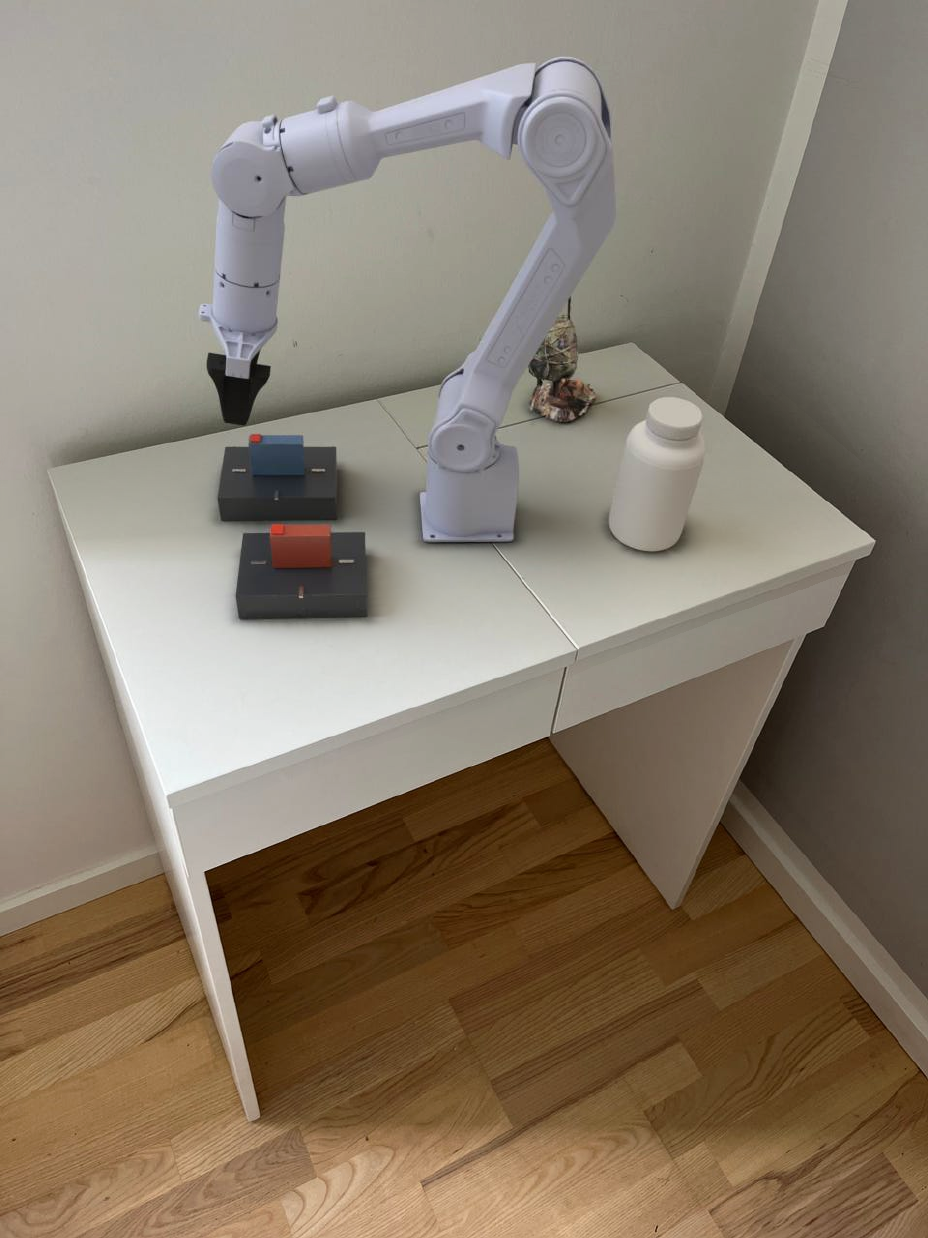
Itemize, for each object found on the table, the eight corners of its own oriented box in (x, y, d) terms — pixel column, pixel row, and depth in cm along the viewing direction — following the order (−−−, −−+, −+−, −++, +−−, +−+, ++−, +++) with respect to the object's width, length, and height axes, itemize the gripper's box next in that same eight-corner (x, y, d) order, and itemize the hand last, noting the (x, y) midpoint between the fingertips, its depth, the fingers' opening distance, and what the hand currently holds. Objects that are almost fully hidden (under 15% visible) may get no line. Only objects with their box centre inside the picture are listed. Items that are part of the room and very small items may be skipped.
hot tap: (331, 556, 92) (330, 522, 89) (331, 567, 90) (330, 533, 87) (274, 557, 91) (270, 522, 88) (273, 568, 90) (269, 534, 87)
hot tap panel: (365, 551, 97) (365, 528, 95) (366, 619, 90) (366, 595, 88) (246, 553, 96) (242, 529, 93) (238, 621, 89) (234, 597, 87)
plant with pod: (500, 403, 118) (516, 245, 104) (568, 377, 123) (592, 224, 109) (542, 435, 114) (564, 275, 99) (611, 407, 119) (641, 251, 104)
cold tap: (305, 466, 101) (302, 433, 98) (304, 475, 100) (302, 442, 97) (253, 466, 101) (249, 432, 98) (252, 475, 100) (247, 441, 97)
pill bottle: (679, 559, 99) (715, 440, 88) (603, 546, 100) (630, 426, 89) (682, 513, 105) (717, 395, 94) (610, 500, 105) (636, 382, 95)
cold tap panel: (337, 466, 107) (336, 443, 104) (336, 522, 100) (335, 498, 98) (228, 466, 105) (225, 443, 103) (220, 522, 99) (216, 498, 96)
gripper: (209, 225, 88) (204, 352, 97) (191, 305, 78) (188, 437, 88) (286, 239, 89) (273, 362, 99) (278, 319, 80) (265, 448, 89)
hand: (238, 398), depth 94 cm, fingers open, 7 cm apart
